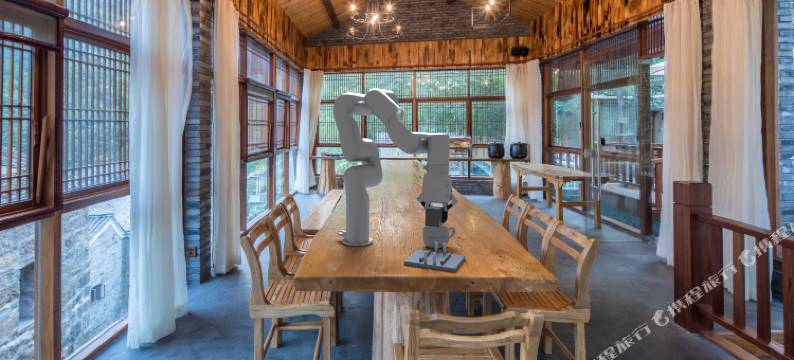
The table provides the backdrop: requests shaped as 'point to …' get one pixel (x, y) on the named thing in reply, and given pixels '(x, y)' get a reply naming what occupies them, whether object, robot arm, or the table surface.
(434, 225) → the block
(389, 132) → the robot arm
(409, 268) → the table surface
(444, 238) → the teacup
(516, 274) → the table surface
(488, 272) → the table surface
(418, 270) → the table surface
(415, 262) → the grey stand
